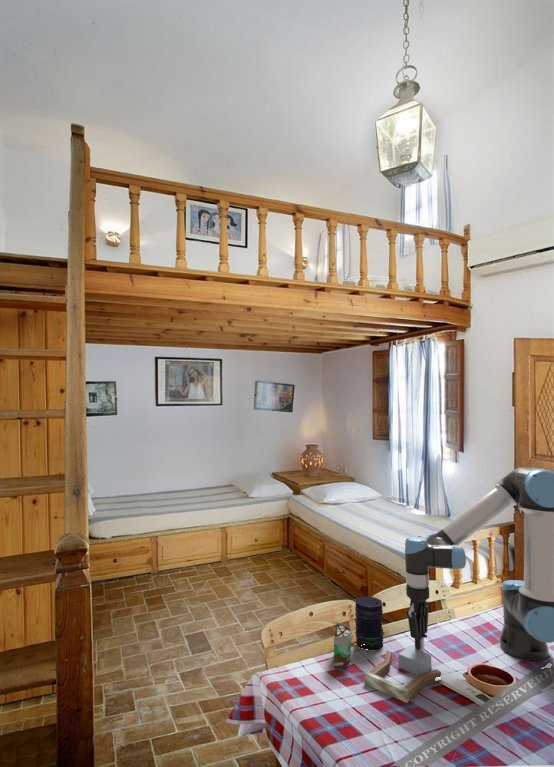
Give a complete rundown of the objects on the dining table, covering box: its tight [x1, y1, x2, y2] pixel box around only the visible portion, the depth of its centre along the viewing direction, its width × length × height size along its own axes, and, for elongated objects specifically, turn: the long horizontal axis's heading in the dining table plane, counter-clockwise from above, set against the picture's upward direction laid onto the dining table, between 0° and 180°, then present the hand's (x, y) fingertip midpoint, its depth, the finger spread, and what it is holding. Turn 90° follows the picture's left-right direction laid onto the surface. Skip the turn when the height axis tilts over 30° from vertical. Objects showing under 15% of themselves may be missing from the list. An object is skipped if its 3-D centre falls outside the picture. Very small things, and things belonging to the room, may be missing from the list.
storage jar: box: [354, 596, 384, 651], centre depth 159 cm, size 10×10×15 cm
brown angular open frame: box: [363, 650, 442, 704], centre depth 136 cm, size 19×18×3 cm
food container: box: [333, 622, 354, 669], centre depth 147 cm, size 12×6×10 cm, turn 168°
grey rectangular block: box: [398, 646, 433, 676], centre depth 143 cm, size 8×7×4 cm
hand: (419, 657), depth 146 cm, fingers closed
